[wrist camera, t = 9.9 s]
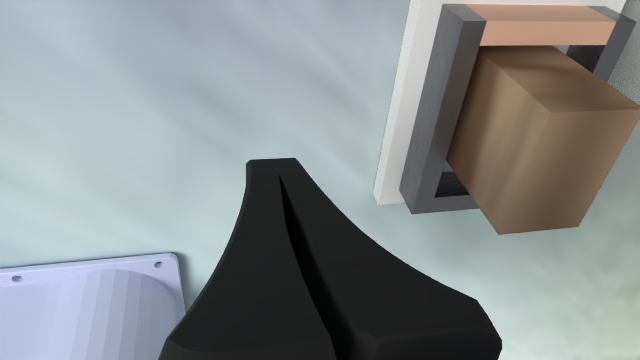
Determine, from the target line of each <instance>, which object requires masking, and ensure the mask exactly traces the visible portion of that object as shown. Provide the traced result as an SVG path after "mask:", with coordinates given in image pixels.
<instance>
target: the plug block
mask: <svg viewBox="0 0 640 360" xmlns="http://www.w3.org/2000/svg"><path fill="white" fill-rule="evenodd" d="M639 118H640V106H639V105H638V104H637V103H635V102H634V101H632V100H631V99H629V98H628V97H626V96H625V95H623V94H622V93H621V92H619V91H618V90H616V89H615V88H613V87H612V86H610V85H609V84H608V83H606V82H605V81H603V80H602V79H600V78H599V77H597V76H596V75H594V74H593V73H592V72H590V71H589V70H587V69H586V68H584V67H583V66H581V65H580V64H578V63H577V62H576V61H574V60H573V59H571V58H570V57H568V56H567V55H565V54H564V53H562V52H561V51H560V50H558V49H557V48H555V47H554V46H552V45H494V46H479V49H478V53H477V56H476V59H475V63H474V66H473V69H472V73H471V76H470V80H469V83H468V86H467V90H466V93H465V96H464V100H463V103H462V106H461V110H460V113H459V116H458V120H457V123H456V126H455V130H454V133H453V137H452V140H451V143H450V147H449V150H448V153H447V157H446V161H447V163H448V164H449V165H450V167H451V168H452V170H453V171H454V172H455V174H456V175H457V177H458V178H459V180H460V181H461V182H462V184H463V185H464V187H465V188H466V189H467V191H468V192H469V194H470V195H471V197H472V198H473V199H474V201H475V202H476V204H477V205H478V206H479V208H480V209H481V211H482V212H483V214H484V215H485V216H486V218H487V219H488V221H489V222H490V223H491V225H492V226H493V228H494V229H495V231H496V232H497V233H498V235H500V234H510V233H520V232H530V231H540V230H550V229H560V228H570V227H578V226H579V224H580V223H581V221H582V219H583V217H584V216H585V214H586V212H587V210H588V209H589V207H590V205H591V203H592V201H593V200H594V198H595V196H596V194H597V193H598V191H599V189H600V187H601V186H602V184H603V182H604V180H605V178H606V177H607V175H608V173H609V171H610V170H611V168H612V166H613V164H614V163H615V161H616V159H617V157H618V155H619V154H620V152H621V150H622V148H623V147H624V145H625V143H626V141H627V140H628V138H629V136H630V134H631V132H632V131H633V129H634V127H635V125H636V124H637V122H638V120H639Z"/></svg>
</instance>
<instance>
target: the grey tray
mask: <svg viewBox="0 0 640 360" xmlns="http://www.w3.org/2000/svg"><path fill="white" fill-rule="evenodd" d="M625 2H626V0H411V1H410V6H409V12H408V17H407V22H406V27H405V32H404V37H403V42H402V48H401V53H400V58H399V63H398V68H397V73H396V78H395V83H394V89H393V94H392V99H391V104H390V109H389V114H388V119H387V124H386V130H385V135H384V140H383V145H382V150H381V155H380V160H379V166H378V171H377V176H376V181H375V186H374V191H373V194H374V197H375V199H376V201H377V203H378V205H384V204H397V203H406V204H407V206H408V208H409V210H410V212H411V214H420V213H431V212H443V211H454V210H466V209H477V208H479V206H478V205H477V204H476V202H475V201H474V199H473V198H472V197H471V195H470V194H469V192H468V191H467V189H466V188H465V187H464V185H463V184H462V182H461V181H460V180H459V178H458V177H457V175H456V174H455V172H454V171H453V170H452V168H451V167H450V165H449V164H448V163H447V161H446V157H447V153H448V150H449V147H450V143H451V140H452V137H453V133H454V130H455V126H456V123H457V120H458V116H459V113H460V110H461V106H462V103H463V100H464V96H465V93H466V90H467V86H468V83H469V80H470V76H471V73H472V69H473V66H474V63H475V59H476V56H477V53H478V49H479V46H494V45H552V46H554V47H555V48H557V49H558V50H560V51H561V52H562V53H564V54H565V55H567V56H568V57H570V58H571V59H573V60H574V61H576V62H577V63H578V64H580V65H581V66H583V67H584V68H586V69H587V70H589V71H590V72H592V73H593V74H594V75H596V76H597V77H599V78H600V79H602V80H603V81H605V82H606V83H607V81H608V79H609V77H610V75H611V73H612V71H613V69H614V67H615V65H616V63H617V61H618V59H619V57H620V54H621V52H622V50H623V48H624V46H625V44H626V42H627V40H628V38H629V36H630V34H631V32H632V30H633V28H634V26H635V24H636V22H635V21H633V20H631V19H629V18H627V17H625V16H623V15H622V14H620V13H621V11H622V8H623V6H624V4H625Z"/></svg>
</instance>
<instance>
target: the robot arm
mask: <svg viewBox="0 0 640 360" xmlns="http://www.w3.org/2000/svg"><path fill="white" fill-rule="evenodd" d="M157 262H162V263H157ZM19 276H21V277H19ZM501 350H502V340H501V338H500V336H499V334H498V333H497V331H496V329H495V327H494V326H493V324H492V322H491V320H490V319H489V317H488V315H487V314H486V313H485V311H484V310H483V308H482V307H481V305H480V304H479V302H478V301H477V300H476V299H474V298H472V297H469V296H467V295H465V294H463V293H461V292H459V291H456V290H454V289H452V288H450V287H448V286H446V285H444V284H442V283H440V282H438V281H436V280H434V279H432V278H430V277H429V276H427V275H425V274H423V273H421V272H420V271H418V270H416V269H415V268H413V267H411V266H410V265H408V264H406V263H405V262H403V261H402V260H400V259H399V258H397V257H396V256H394V255H393V254H391V253H390V252H388V251H387V250H385V249H384V248H383V247H381V246H380V245H379V244H377V243H376V242H375V241H374V240H372V239H371V238H370V237H369V236H367V235H366V234H365V233H364V232H362V231H361V230H360V229H359V228H358V227H357V226H356V225H355V224H354V223H352V222H351V221H350V220H349V219H348V218H347V217H346V216H345V215H344V214H343V213H342V212H341V211H340V210H339V209H338V208H337V207H336V206H335V205H334V203H333V202H332V201H331V200H330V199H329V198H328V197H327V196H326V195H325V194H324V192H323V191H322V190H321V189H320V188H319V187H318V185H317V184H316V183H315V182H314V181H313V179H312V178H311V177H310V176H309V174H308V173H307V172H306V171H305V169H304V168H303V167H302V165H301V164H300V163H299V161H298V160H297V159H296V158H280V159H257V160H250V161H248V162H247V163H246V188H245V193H244V197H243V201H242V205H241V209H240V212H239V215H238V218H237V221H236V224H235V227H234V230H233V232H232V235H231V237H230V240H229V242H228V244H227V246H226V248H225V251H224V253H223V255H222V257H221V259H220V261H219V262H218V264H217V266H216V268H215V270H214V272H213V274H212V275H211V277H210V279H209V280H208V282H207V284H206V285H205V287H204V288H203V290H202V291H201V293H200V294H199V296H198V297H197V299H196V300H195V302H194V303H193V305H192V306H191V308H190V309H189V310H188V312H187V313H186V311H185V304H184V297H183V290H182V283H181V276H180V269H179V262H178V257H177V256H176V255H175V254H172V253H165V254H154V255H143V256H133V257H122V258H111V259H101V260H90V261H79V262H69V263H58V264H47V265H37V266H26V267H16V268H5V269H0V360H498V358H499V355H500V352H501Z"/></svg>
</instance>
